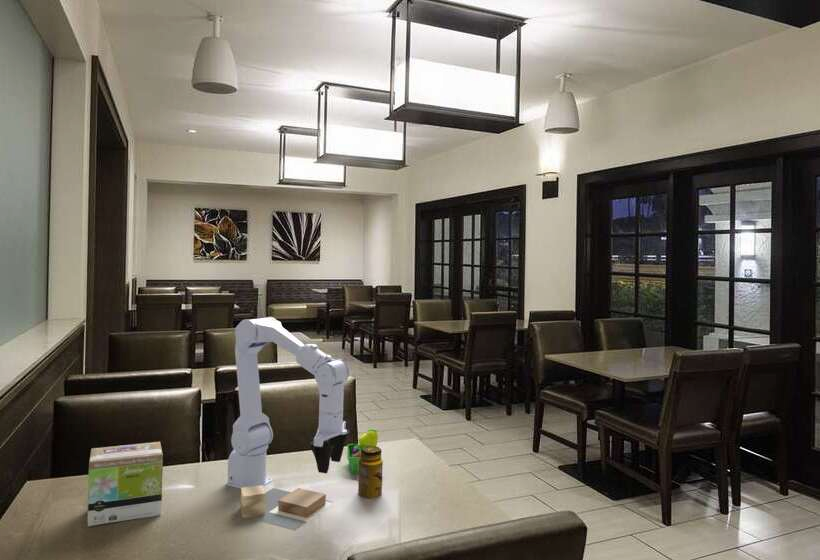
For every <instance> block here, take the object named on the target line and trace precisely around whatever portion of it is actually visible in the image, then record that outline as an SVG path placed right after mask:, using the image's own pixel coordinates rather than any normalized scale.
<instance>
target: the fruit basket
mask: <svg viewBox="0 0 820 560" xmlns="http://www.w3.org/2000/svg"><path fill="white" fill-rule="evenodd" d="M378 440H379V434H378V430H376V428H369V429H368V430H367V432H366V433H364V434H362V435H360V436H359V438H358V442H359V443H350V444H347V445H346V446H347V451H346V458H347V461H348V465H349V468H350V469H349V470H350V473H351V474H359V460H360V458H361V449H362V448H363V447H366V446H376V447H378Z"/></svg>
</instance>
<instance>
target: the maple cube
mask: <svg viewBox="0 0 820 560" xmlns="http://www.w3.org/2000/svg"><path fill="white" fill-rule="evenodd" d="M264 487H265V486H263V485H260V486H251V487H243V488H241V489H240V507H241V512H242V516H241V517H242V519H243V518H244V519H245V518H246V517H252V516H260V515H265V493H266V491H265V488H264Z"/></svg>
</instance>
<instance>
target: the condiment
mask: <svg viewBox="0 0 820 560" xmlns="http://www.w3.org/2000/svg"><path fill="white" fill-rule="evenodd" d="M383 462H384V461H383V458H382V449H381V448H380V446H366V447H363V448H362V449H361V458H360V460H359V473H358V483H357V484H358V489H357V491H358V495H359V496H360V497H361V498H364V499H375V498H378V497H380V496H381V495H382V493H383V465H384V464H383Z"/></svg>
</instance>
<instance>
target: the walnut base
mask: <svg viewBox="0 0 820 560" xmlns="http://www.w3.org/2000/svg"><path fill="white" fill-rule="evenodd" d="M290 492H291V493H289V494H288V495H286V496H285V497H283V498H281V499H280V500H278V511H281V512H285V513H289V514H293V515H297V516H301V517H305V518H307V517H309V516H310V515H312V514H313V513H314V512H316V511H317V510H318V509H320V508H321V507H323V506H324V505H325V504H326V498H327V495H326V493H323V492H319V491H313V490H309V489H305V488H300V487H297V488H296V489H295V490H293V491H290Z"/></svg>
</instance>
